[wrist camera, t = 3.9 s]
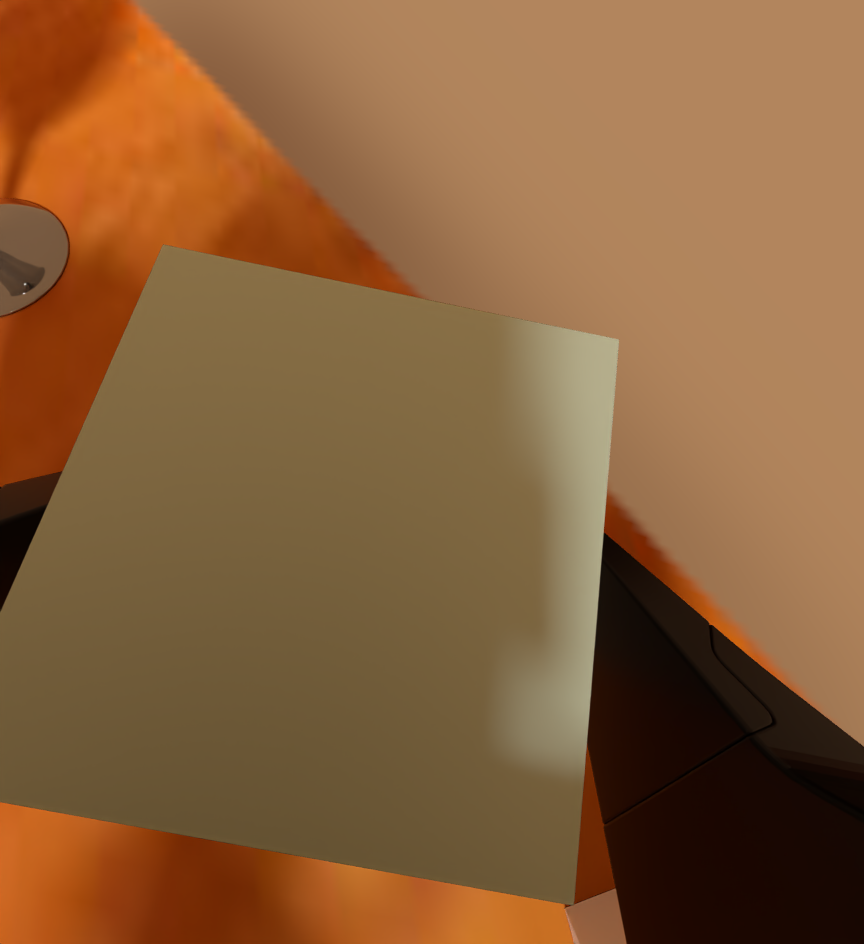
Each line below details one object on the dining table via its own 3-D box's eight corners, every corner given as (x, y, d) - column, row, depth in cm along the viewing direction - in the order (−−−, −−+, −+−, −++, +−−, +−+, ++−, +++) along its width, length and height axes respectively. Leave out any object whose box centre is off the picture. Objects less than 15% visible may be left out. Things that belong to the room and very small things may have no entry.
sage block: (440, 610, 15) (574, 906, 3) (326, 588, 15) (-77, 787, 3) (460, 498, 16) (619, 339, 4) (353, 476, 16) (163, 243, 4)
